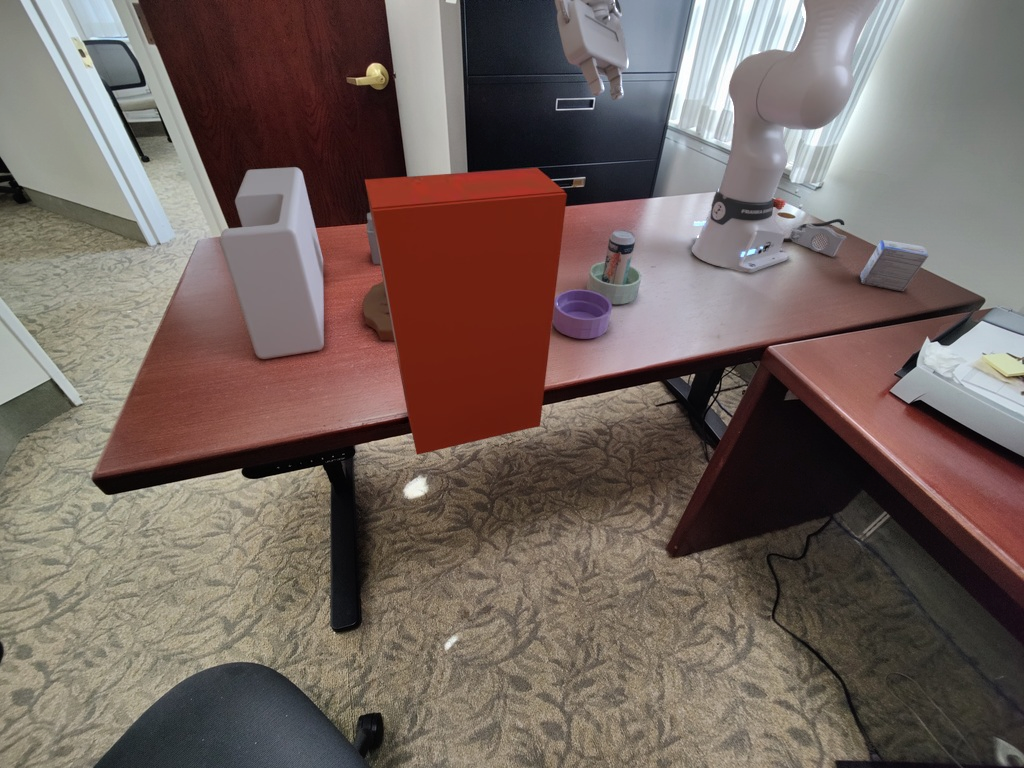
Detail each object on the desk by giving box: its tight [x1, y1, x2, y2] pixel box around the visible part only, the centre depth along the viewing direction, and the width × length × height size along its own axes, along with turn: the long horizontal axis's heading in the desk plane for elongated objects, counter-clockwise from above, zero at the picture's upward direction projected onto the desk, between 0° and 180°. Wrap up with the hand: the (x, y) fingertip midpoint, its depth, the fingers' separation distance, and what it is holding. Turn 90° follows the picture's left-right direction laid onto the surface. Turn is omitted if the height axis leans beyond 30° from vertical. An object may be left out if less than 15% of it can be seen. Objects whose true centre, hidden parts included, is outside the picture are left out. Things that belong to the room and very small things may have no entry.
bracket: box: [219, 166, 325, 360], centre depth 79 cm, size 30×10×30 cm, turn 18°
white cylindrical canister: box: [602, 229, 636, 285], centre depth 86 cm, size 5×5×12 cm
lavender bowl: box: [552, 288, 613, 340], centre depth 79 cm, size 10×10×4 cm
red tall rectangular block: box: [364, 167, 568, 456], centre depth 51 cm, size 8×17×32 cm, turn 109°
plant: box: [362, 281, 394, 342], centre depth 79 cm, size 20×20×11 cm
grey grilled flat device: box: [788, 222, 847, 257], centre depth 108 cm, size 12×2×6 cm, turn 34°
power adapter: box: [366, 210, 380, 265], centre depth 94 cm, size 3×5×12 cm, turn 15°
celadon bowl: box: [586, 261, 642, 305], centre depth 88 cm, size 10×10×4 cm
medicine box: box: [859, 239, 929, 292], centre depth 94 cm, size 8×4×9 cm, turn 65°
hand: (608, 96), depth 74 cm, fingers open, 8 cm apart
